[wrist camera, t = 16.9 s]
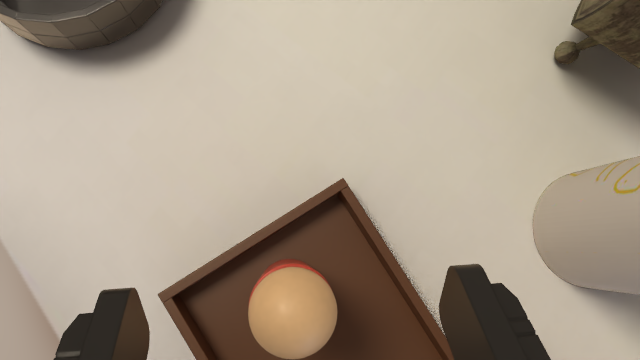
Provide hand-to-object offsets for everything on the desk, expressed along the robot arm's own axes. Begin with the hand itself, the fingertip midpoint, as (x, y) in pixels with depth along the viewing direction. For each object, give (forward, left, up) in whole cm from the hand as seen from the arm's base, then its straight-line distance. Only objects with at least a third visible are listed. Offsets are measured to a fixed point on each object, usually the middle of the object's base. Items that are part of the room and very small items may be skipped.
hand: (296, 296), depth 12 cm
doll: (-1, -1, -19) cm, 19 cm away
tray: (-4, -4, -19) cm, 20 cm away
